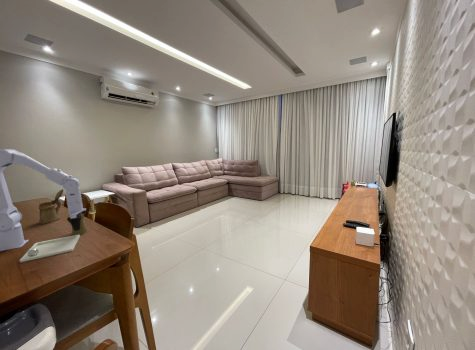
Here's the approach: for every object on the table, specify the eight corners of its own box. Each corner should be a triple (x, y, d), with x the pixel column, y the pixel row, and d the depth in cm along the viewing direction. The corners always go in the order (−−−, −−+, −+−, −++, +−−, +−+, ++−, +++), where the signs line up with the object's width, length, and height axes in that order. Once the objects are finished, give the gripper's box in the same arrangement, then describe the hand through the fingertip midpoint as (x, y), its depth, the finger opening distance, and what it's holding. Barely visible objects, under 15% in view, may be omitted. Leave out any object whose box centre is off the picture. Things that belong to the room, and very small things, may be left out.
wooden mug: (70, 217, 127) (66, 189, 124) (41, 224, 115) (36, 194, 112) (65, 214, 131) (60, 188, 128) (36, 221, 120) (31, 193, 117)
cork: (78, 236, 98) (75, 215, 97) (68, 236, 100) (65, 215, 98) (89, 231, 104) (87, 211, 102) (80, 230, 105) (77, 211, 104)
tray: (20, 263, 76) (19, 260, 76) (36, 245, 90) (35, 242, 90) (73, 251, 84) (72, 248, 84) (80, 237, 98) (79, 234, 98)
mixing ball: (26, 259, 78) (25, 251, 78) (29, 255, 81) (28, 248, 81) (37, 257, 80) (36, 249, 79) (40, 253, 83) (39, 246, 82)
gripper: (81, 204, 95) (86, 230, 97) (86, 197, 107) (90, 221, 109) (62, 206, 91) (67, 234, 94) (70, 199, 104) (74, 224, 106)
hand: (78, 227), depth 101 cm, fingers open, 7 cm apart
